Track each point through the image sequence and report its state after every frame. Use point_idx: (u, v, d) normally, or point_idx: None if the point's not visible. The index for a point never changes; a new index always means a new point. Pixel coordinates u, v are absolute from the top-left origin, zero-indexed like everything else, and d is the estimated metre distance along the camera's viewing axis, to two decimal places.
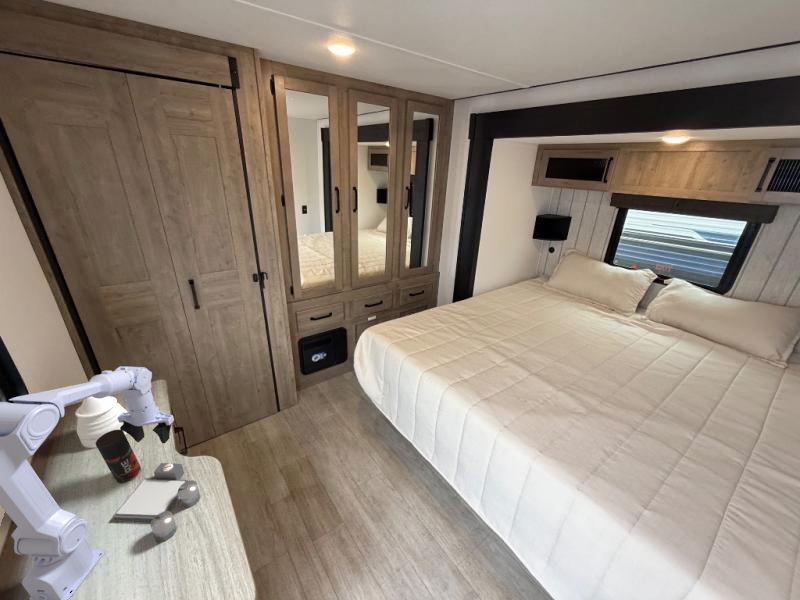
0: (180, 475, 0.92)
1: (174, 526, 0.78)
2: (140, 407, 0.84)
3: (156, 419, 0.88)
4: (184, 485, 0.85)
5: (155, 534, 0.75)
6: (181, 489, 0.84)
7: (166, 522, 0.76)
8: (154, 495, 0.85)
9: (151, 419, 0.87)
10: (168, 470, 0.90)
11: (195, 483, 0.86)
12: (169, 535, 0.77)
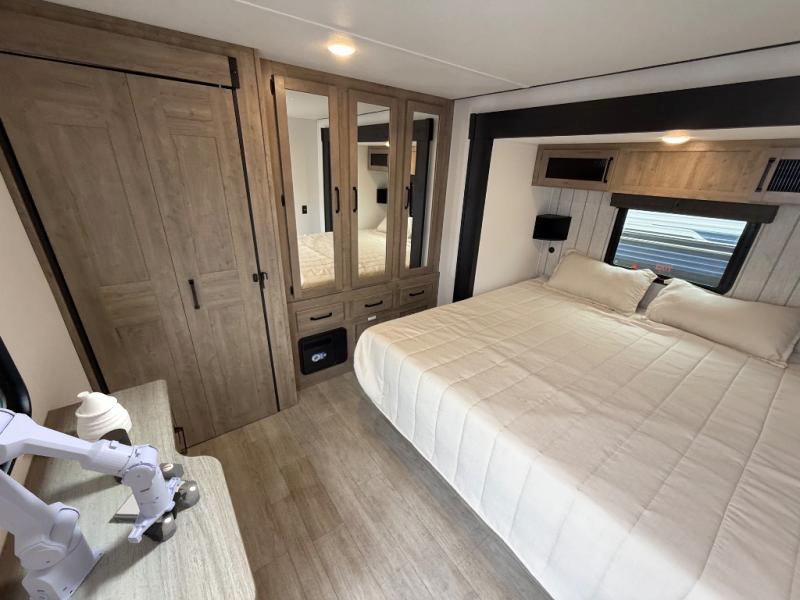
0: (180, 475, 0.92)
1: (174, 526, 0.78)
2: (136, 500, 0.70)
3: (142, 521, 0.71)
4: (184, 485, 0.85)
5: None
6: (181, 489, 0.84)
7: (166, 522, 0.76)
8: None
9: (142, 515, 0.72)
10: (168, 470, 0.90)
11: (195, 483, 0.86)
12: (169, 534, 0.77)
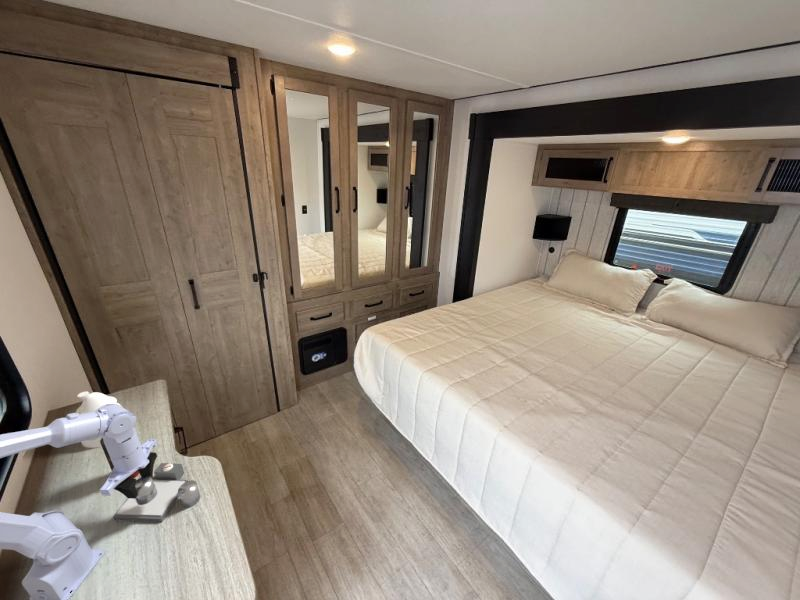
0: (180, 475, 0.92)
1: (153, 492, 0.80)
2: (117, 456, 0.72)
3: (116, 476, 0.73)
4: (184, 485, 0.85)
5: None
6: (181, 489, 0.84)
7: (143, 486, 0.78)
8: None
9: (116, 471, 0.74)
10: (168, 470, 0.90)
11: (195, 483, 0.86)
12: (147, 499, 0.79)
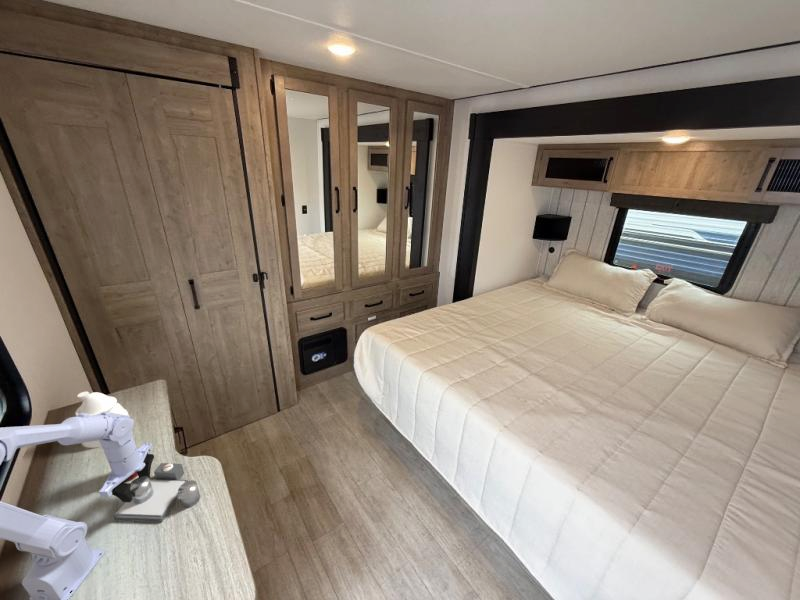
0: (180, 475, 0.92)
1: (150, 491, 0.84)
2: (118, 459, 0.76)
3: (113, 478, 0.77)
4: (184, 485, 0.85)
5: None
6: (181, 489, 0.84)
7: (141, 486, 0.82)
8: (154, 495, 0.85)
9: (113, 474, 0.78)
10: (168, 470, 0.90)
11: (195, 483, 0.86)
12: (143, 498, 0.83)
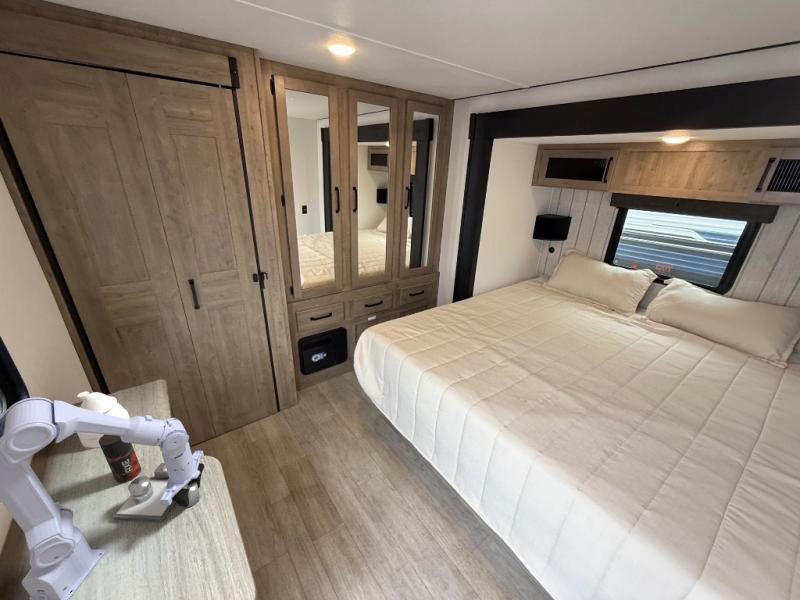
0: None
1: (150, 491, 0.84)
2: (170, 468, 0.78)
3: (172, 486, 0.79)
4: None
5: (131, 495, 0.82)
6: None
7: (141, 486, 0.82)
8: (154, 495, 0.85)
9: (171, 482, 0.80)
10: None
11: (195, 483, 0.86)
12: (143, 498, 0.83)
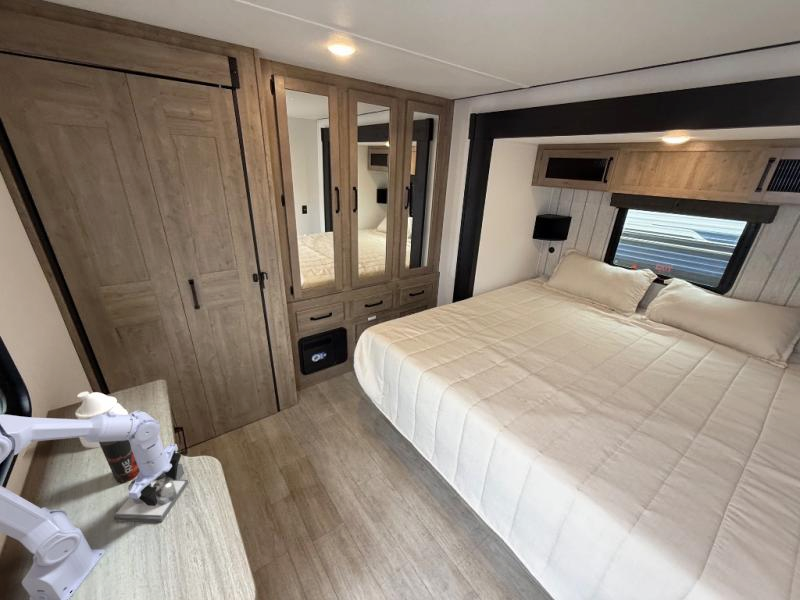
0: (180, 475, 0.92)
1: None
2: (142, 461, 0.76)
3: (142, 480, 0.77)
4: (159, 482, 0.84)
5: None
6: (156, 486, 0.83)
7: None
8: None
9: (141, 475, 0.78)
10: None
11: (171, 480, 0.84)
12: None
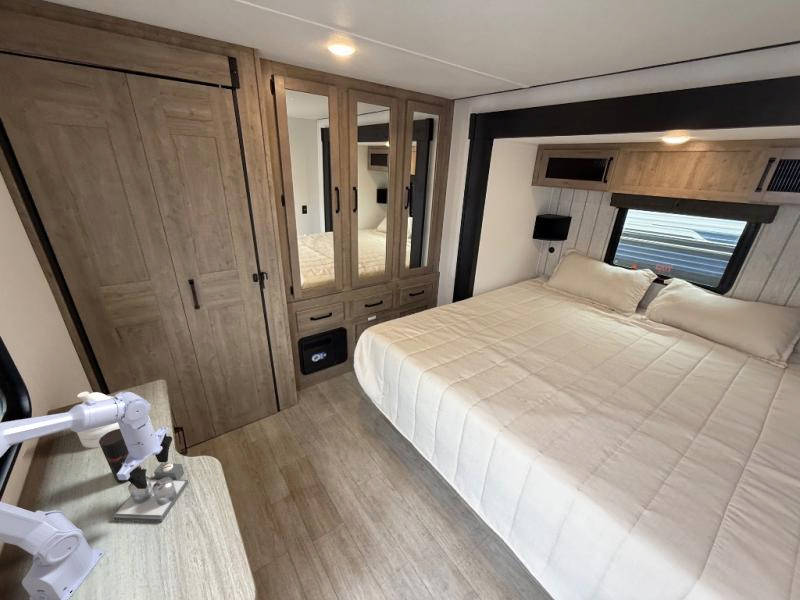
0: (180, 475, 0.92)
1: (150, 491, 0.84)
2: (132, 442, 0.74)
3: (131, 461, 0.76)
4: (159, 482, 0.84)
5: (131, 495, 0.82)
6: (156, 486, 0.83)
7: None
8: (154, 495, 0.85)
9: (131, 457, 0.76)
10: (168, 470, 0.90)
11: (170, 480, 0.84)
12: (143, 498, 0.83)
